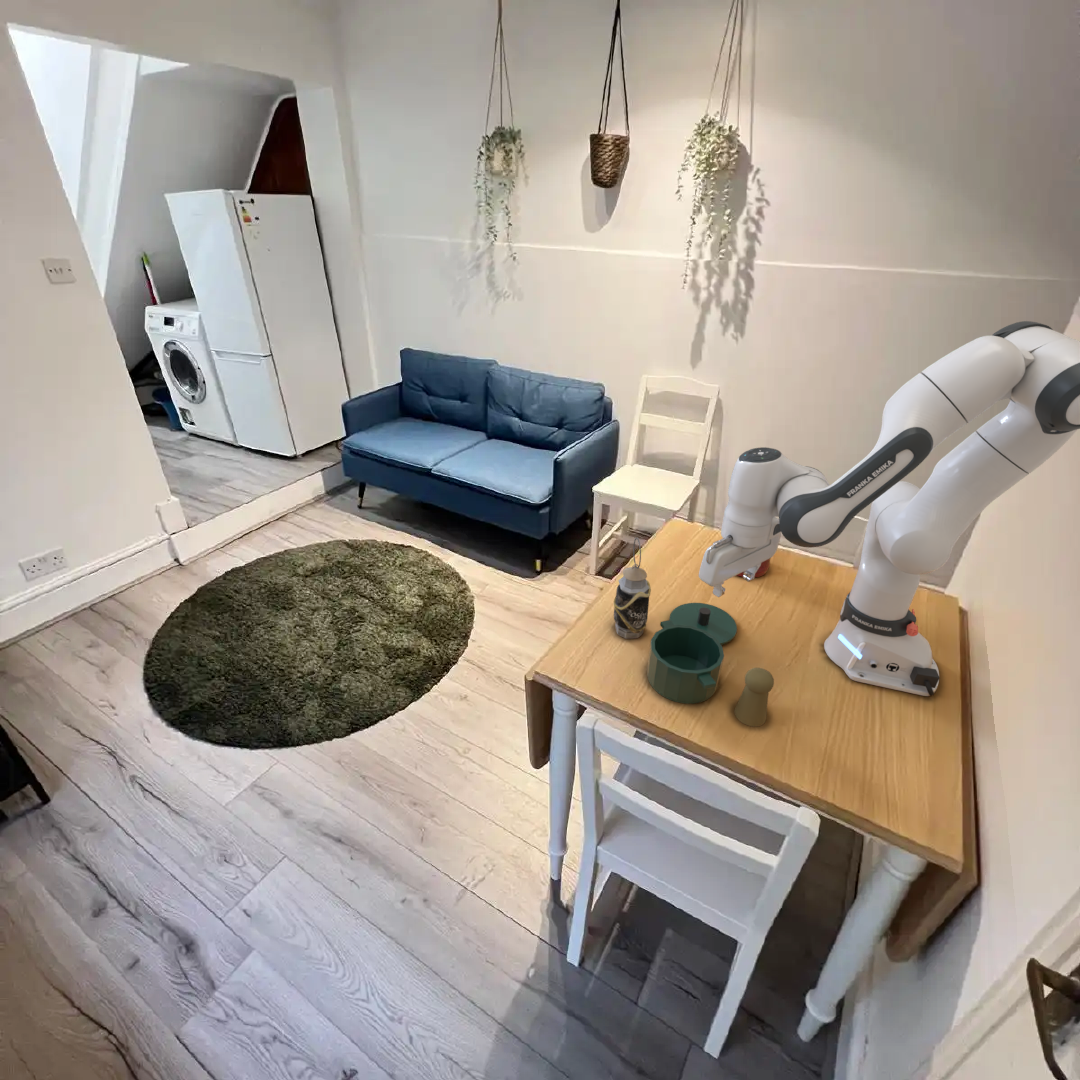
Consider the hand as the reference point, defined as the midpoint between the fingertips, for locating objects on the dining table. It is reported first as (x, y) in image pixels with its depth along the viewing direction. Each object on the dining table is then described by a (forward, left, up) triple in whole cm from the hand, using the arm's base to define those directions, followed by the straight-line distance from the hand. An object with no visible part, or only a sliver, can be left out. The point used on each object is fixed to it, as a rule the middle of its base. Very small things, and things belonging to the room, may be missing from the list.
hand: (733, 586), depth 119 cm
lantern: (+21, +2, -19) cm, 28 cm away
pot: (+5, +11, -19) cm, 22 cm away
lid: (+6, -8, -18) cm, 21 cm away
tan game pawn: (-10, +14, -19) cm, 26 cm away
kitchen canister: (+4, -40, -19) cm, 44 cm away
